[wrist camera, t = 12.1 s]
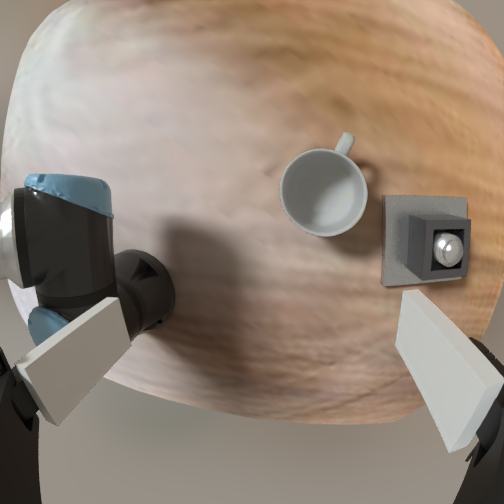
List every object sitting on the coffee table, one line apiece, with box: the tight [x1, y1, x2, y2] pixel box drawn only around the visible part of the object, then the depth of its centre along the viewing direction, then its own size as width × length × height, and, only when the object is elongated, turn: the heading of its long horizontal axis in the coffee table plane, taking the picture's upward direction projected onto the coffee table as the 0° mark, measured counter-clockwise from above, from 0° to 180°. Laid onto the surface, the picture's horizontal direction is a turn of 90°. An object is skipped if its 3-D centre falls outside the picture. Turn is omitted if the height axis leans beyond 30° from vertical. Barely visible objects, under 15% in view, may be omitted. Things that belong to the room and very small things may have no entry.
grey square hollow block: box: [407, 215, 471, 281], centre depth 34 cm, size 8×8×6 cm
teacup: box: [280, 132, 368, 237], centre depth 35 cm, size 14×11×8 cm
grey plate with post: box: [381, 195, 467, 286], centre depth 33 cm, size 16×14×10 cm
